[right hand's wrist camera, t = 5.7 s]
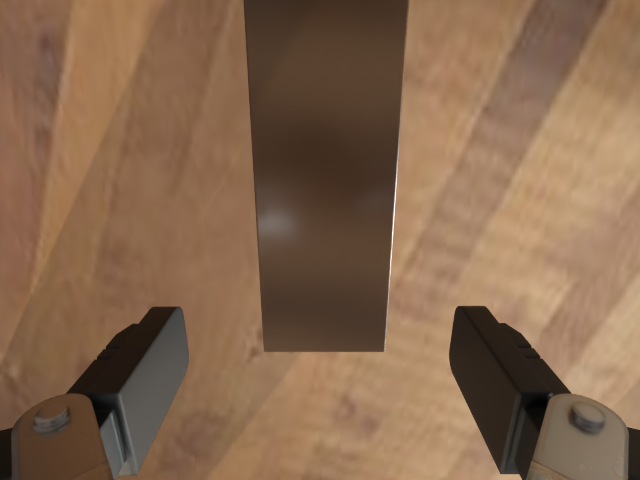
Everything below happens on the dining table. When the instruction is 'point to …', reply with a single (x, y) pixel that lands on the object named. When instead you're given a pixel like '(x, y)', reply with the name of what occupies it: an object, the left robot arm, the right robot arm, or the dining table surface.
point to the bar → (325, 166)
